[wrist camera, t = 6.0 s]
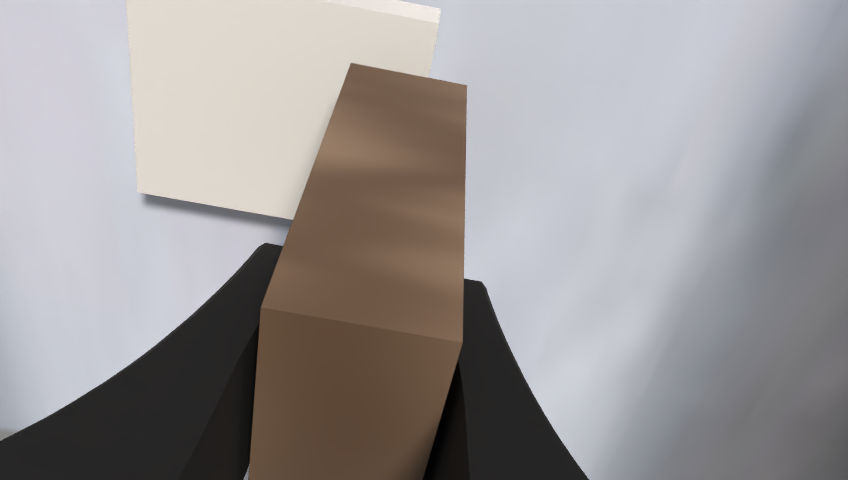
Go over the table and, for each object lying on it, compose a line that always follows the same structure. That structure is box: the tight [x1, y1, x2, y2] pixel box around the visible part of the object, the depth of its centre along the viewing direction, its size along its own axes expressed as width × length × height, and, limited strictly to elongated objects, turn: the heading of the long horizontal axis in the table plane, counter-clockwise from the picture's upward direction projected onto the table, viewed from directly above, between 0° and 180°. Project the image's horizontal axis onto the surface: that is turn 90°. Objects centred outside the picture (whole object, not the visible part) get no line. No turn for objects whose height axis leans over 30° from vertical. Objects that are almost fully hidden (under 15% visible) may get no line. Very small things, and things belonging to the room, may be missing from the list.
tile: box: [126, 0, 441, 220], centre depth 18 cm, size 2×6×7 cm
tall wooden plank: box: [248, 63, 467, 480], centre depth 14 cm, size 2×5×8 cm, turn 169°
